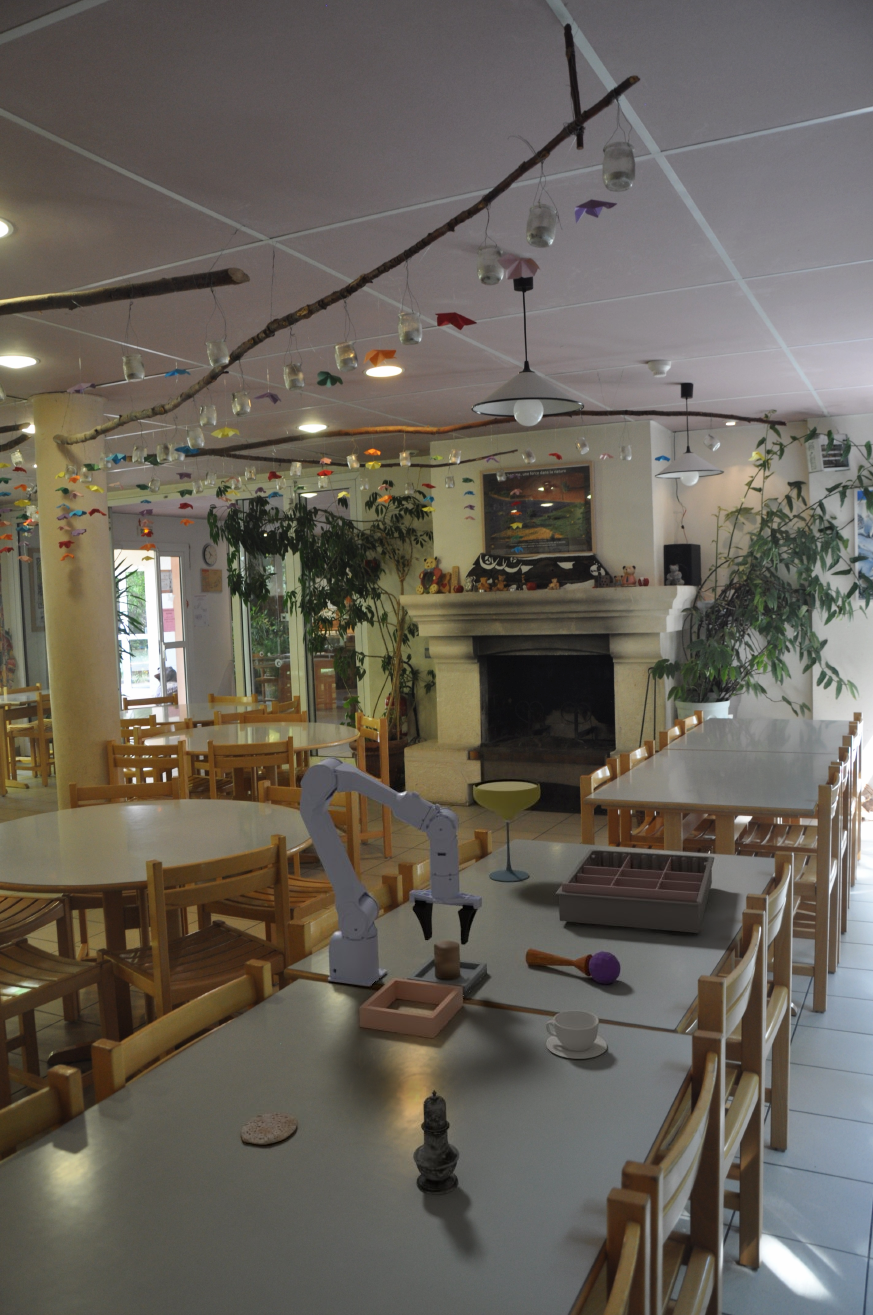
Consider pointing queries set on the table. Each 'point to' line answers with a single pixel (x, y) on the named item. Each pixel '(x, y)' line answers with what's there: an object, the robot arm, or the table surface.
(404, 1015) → the holder
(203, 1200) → the table surface
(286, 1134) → the flatbread
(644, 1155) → the table surface
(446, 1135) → the salt shaker
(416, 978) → the tray
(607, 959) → the kendama
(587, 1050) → the teacup
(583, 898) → the organizer tray
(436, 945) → the brown rounded cylinder
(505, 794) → the cocktail glass
